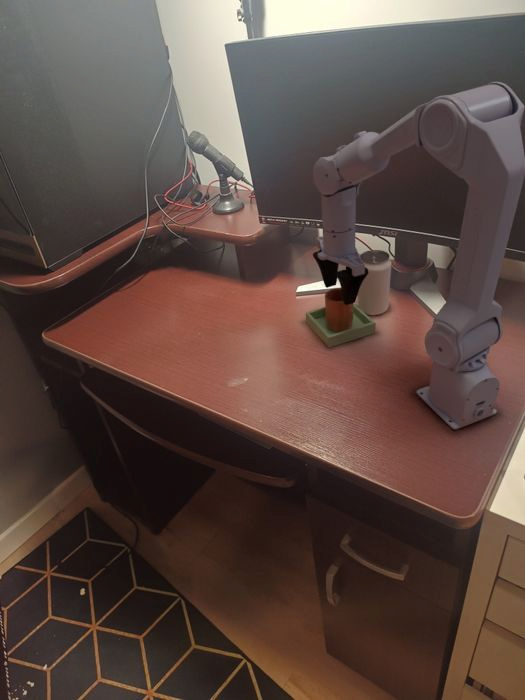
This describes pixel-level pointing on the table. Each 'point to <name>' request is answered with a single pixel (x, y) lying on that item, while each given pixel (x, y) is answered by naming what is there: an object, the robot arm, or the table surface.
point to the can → (375, 283)
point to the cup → (337, 312)
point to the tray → (360, 329)
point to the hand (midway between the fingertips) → (339, 294)
